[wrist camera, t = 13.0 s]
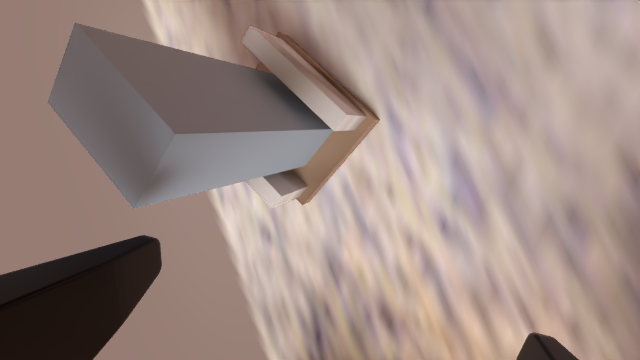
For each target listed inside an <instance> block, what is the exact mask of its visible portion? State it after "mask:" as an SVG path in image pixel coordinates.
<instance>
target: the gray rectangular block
mask: <svg viewBox="0 0 640 360" xmlns="http://www.w3.org/2000/svg"><path fill="white" fill-rule="evenodd" d="M48 103H49V104H50V106H51V107H52V108H53V109H54V111H55V112H56V113H57V114H58V115H59V117H60V118H61V119H62V120H63V122H64V123H65V124H66V125H67V127H68V128H69V129H70V130H71V132H72V133H73V134H74V135H75V137H76V138H77V139H78V140H79V141H80V143H81V144H82V145H83V146H84V147H85V149H86V150H87V151H88V153H89V154H90V155H91V156H92V157H93V159H94V160H95V161H96V162H97V164H98V165H99V166H100V167H101V168H102V170H103V171H104V172H105V174H106V175H107V176H108V177H109V179H110V180H111V181H112V182H113V183H114V185H115V186H116V187H117V188H118V190H119V191H120V192H121V193H122V195H123V196H124V197H125V198H126V200H127V201H128V202H129V203H130V204H131V206H132V207H133V208H139V207H143V206H146V205H151V204H154V203H159V202H163V201H167V200H171V199H174V198H179V197H183V196H186V195H191V194H195V193H198V192H202V191H207V190H211V189H215V188H219V187H223V186H227V185H231V184H235V183H239V182H243V181H247V180H251V179H255V178H259V177H263V176H267V175H271V174H275V173H279V172H283V171H287V170H291V169H295V168H299V167H303V166H305V165H306V164H307V163H308V161H309V160H310V159H311V158H312V156H313V155H314V154H315V153H316V151H317V150H318V149H319V148H320V146H321V145H322V144H323V143H324V141H325V140H326V139H327V138H328V136H329V135H330V134H331V133H332V131H333V130H332V129H331V128H330V127H329V126H328V125H327V124H326V123H325V122H324V121H323V120H322V119H321V118H320V117H319V116H318V115H317V114H315V113H314V112H313V111H312V110H311V109H310V108H309V107H308V106H307V105H306V104H305V103H304V102H303V101H302V100H301V99H300V98H299V97H298V96H297V95H296V94H295V93H293V92H292V91H291V90H290V89H289V88H288V87H287V86H286V85H285V84H284V83H283V82H282V81H281V80H280V79H279V78H278V77H277V76H276V75H275V74H272V73H268V72H264V71H260V70H256V69H252V68H248V67H245V66H241V65H237V64H233V63H229V62H225V61H221V60H217V59H213V58H210V57H206V56H202V55H198V54H194V53H190V52H186V51H182V50H179V49H175V48H171V47H167V46H163V45H159V44H155V43H151V42H147V41H144V40H139V39H136V38H132V37H128V36H124V35H120V34H116V33H113V32H108V31H105V30H101V29H97V28H93V27H89V26H85V25H82V24H77V23H75V24H74V27H73V30H72V33H71V36H70V39H69V42H68V45H67V48H66V51H65V54H64V57H63V59H62V63H61V65H60V68H59V71H58V74H57V77H56V80H55V83H54V86H53V89H52V91H51V95H50V97H49V100H48Z"/></svg>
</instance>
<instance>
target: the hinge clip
mask: <svg viewBox="0 0 640 360" xmlns="http://www.w3.org/2000/svg"><path fill="white" fill-rule="evenodd" d="M241 43H242V44H243V45H244V46H245V47H246V48H247V49H248V50H249V51H250V52H252V53H253V54H254V55H255V56H256V57H257V58H258V59H259V60H260V63H259V64H258V66H257V68H256V70H260V71H264V72H268V73H272V74H275V75H276V76H277V77H278V78H279V79H280V80H281V81H282V82H283V83H284V84H285V85H286V86H287V87H288V88H289V89H290V90H291V91H292V92H293V93H295V94H296V95H297V96H298V97H299V98H300V99H301V100H302V101H303V102H304V103H305V104H306V105H307V106H308V107H309V108H310V109H311V110H312V111H313V112H314V113H315V114H317V115H318V116H319V117H320V118H321V119H322V120H323V121H324V122H325V123H326V124H327V125H328V126H329V127H330V128H331V129H332V130H333V131H332V133H331V134H330V135H329V136H328V138H327V139H326V140H325V141H324V143H323V144H322V145H321V146H320V148H319V149H318V150H317V151H316V153H315V154H314V155H313V156H312V158H311V159H310V160H309V161H308V163H307V164H306V165H305V166H303V167H299V168H295V169H291V170H287V171H283V172H279V173H275V174H271V175H267V176H263V177H259V178H255V179H251V180H247V181H246V182H247V183H248V184H249V185H250V186H251V187H252V189H253V190H254V191H255V192H256V193H257V194H258V195H259V196H260V197H261V198H262V199H263V200H264V202H265V203H266V204H267V205H268V206H269V207H270V208H271V209H272V208H275V207H277V206H280V205H282V204H284V203H287V202H289V201H291V200H294V199H297V200H298V201H299V202H300V203H301V204H302V205H304V204H306V203H308V202H310V200H311V199H312V198H313V197H314V196H315V195H316V193H317V192H318V191H319V190H320V189H321V188H322V186H323V185H324V184H325V183H326V182H327V181H328V179H329V178H330V177H331V176H332V175H333V174H334V173H335V171H336V170H337V169H338V168H339V167H340V166H341V164H342V163H343V162H344V161H345V160H346V159H347V157H348V156H349V155H350V154H351V153H352V152H353V150H354V149H355V148H356V147H357V146H358V145H359V144H360V142H361V141H362V140H363V139H364V138H365V137H366V135H367V134H368V133H369V132H370V131H371V130H372V128H373V127H374V126H375V125H376V124H377V123H378V121H379V119H378V118H377V117H376V116H375V115H374V114H373V113H372V112H371V111H369V110H368V109H367V108H366V107H365V106H364V105H363V104H362V103H361V102H360V101H358V100H357V99H356V98H355V97H354V96H353V95H352V94H351V93H350V92H349V91H347V90H346V89H345V88H344V87H343V86H342V85H341V84H340V83H339V82H338V81H336V80H335V79H334V78H333V77H332V76H331V75H330V74H329V73H328V72H327V71H325V70H324V69H323V68H322V67H321V66H320V65H319V64H318V63H317V62H316V61H314V60H313V59H312V58H311V57H310V56H309V55H308V54H307V53H306V52H305V51H303V50H302V49H301V48H300V47H299V46H298V45H297V44H296V43H295V42H294V41H292V40H291V39H290V38H289V37H288V36H287V35H285V34H283V33H281V32H278V34H277V35H276V36H273V35H271V34H269V33H267V32H264V31H262V30H260V29H258V28H256V27H253V26H251V25H250V27H249V28H248V30H247V32H246V34H245V35H244V37H243V39H242V40H241Z"/></svg>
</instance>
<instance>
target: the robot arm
mask: <svg viewBox="0 0 640 360" xmlns="http://www.w3.org/2000/svg"><path fill="white" fill-rule="evenodd" d="M161 266H162V261H161V248H160V242H159V240H158V239H157V238H153V237H149V236H145V235H142V236H138V237H134V238H131V239H127V240H124V241H120V242H116V243H113V244H109V245H106V246H102V247H99V248H95V249H92V250H88V251H84V252H81V253H77V254H74V255H70V256H67V257H63V258H60V259H56V260H53V261H49V262H46V263H42V264H38V265H35V266H31V267H28V268H24V269H20V270H17V271H13V272H10V273H7V274H3V275H0V360H93V358H95V356H96V355H97V354H98V353H99V351H101V349H102V348H103V347H104V346H105V345H106V343H107V342H108V341H109V340H110V339H111V338H112V337H113V335H114V334H115V333H116V332H117V331H118V329H119V328H120V327H121V326H122V324H123V323H124V322H125V320H126V319H127V318H128V316H129V315H130V314H131V312H132V311H133V309H134V308H135V307H136V305H137V304H138V302H139V301H140V300H141V298H142V297H143V295H144V294H145V293H146V291H147V290H148V288H149V287H150V285H151V284H152V283H153V281H154V280H155V279H156V277H157V276H158V274H159V272H160V270H161ZM517 360H578V359H577V358H576V357H575V356H574V355H573V354H572V353H571V352H569V351H568V350H567V349H566V348H565V347H564V346H563V345H562V344H560V343H559V342H558V341H557V340H556V339H555V338H553V337H551V336H547V335H543V334H539V333H530V334H529V335H528V337H527V338H526V340H525V343H524V345H523V347H522V349H521V351H520V353H519V355H518V357H517Z"/></svg>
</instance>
